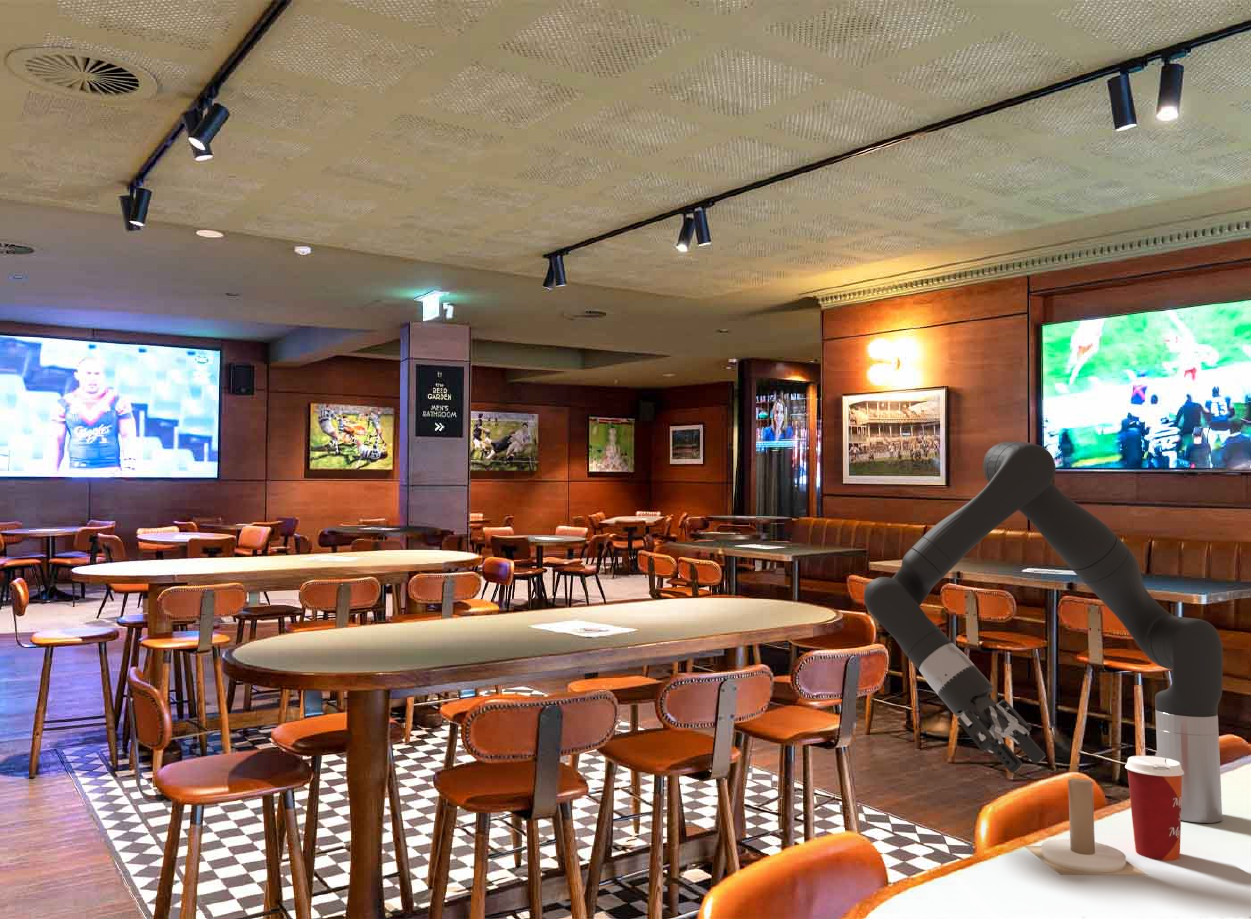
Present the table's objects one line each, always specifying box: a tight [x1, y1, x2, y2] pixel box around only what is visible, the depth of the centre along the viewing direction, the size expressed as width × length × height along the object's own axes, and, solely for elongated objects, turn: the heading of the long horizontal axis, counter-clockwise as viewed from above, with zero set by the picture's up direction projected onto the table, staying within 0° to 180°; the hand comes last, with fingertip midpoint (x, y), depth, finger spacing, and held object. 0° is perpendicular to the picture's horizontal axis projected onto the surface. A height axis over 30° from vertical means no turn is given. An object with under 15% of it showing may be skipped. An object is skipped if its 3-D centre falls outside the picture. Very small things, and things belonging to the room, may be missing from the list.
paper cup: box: [1124, 755, 1184, 862], centre depth 140 cm, size 8×8×14 cm
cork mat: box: [1023, 845, 1149, 876], centre depth 137 cm, size 12×12×1 cm
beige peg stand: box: [1040, 778, 1127, 873], centre depth 137 cm, size 11×11×11 cm
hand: (1029, 764), depth 143 cm, fingers open, 8 cm apart
